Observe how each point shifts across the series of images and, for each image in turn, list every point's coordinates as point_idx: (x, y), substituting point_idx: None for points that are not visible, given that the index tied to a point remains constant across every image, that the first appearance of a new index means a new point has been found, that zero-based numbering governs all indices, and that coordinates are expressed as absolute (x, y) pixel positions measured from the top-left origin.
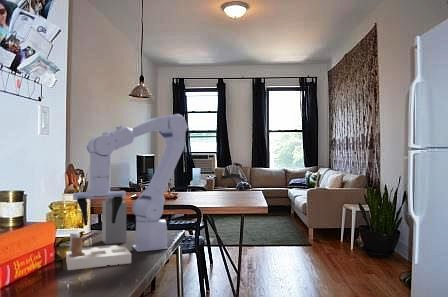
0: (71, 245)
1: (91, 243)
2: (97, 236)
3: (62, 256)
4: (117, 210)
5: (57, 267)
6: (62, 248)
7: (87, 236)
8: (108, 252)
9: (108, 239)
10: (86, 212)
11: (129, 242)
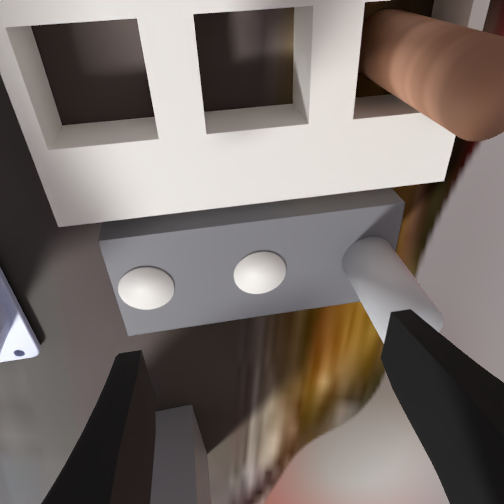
0: (403, 263)
1: (253, 422)
2: (223, 498)
3: (409, 249)
4: (54, 496)
5: (499, 9)
6: (377, 371)
7: (260, 499)
8: (176, 52)
9: (179, 427)
10: (488, 411)
11: (73, 421)
